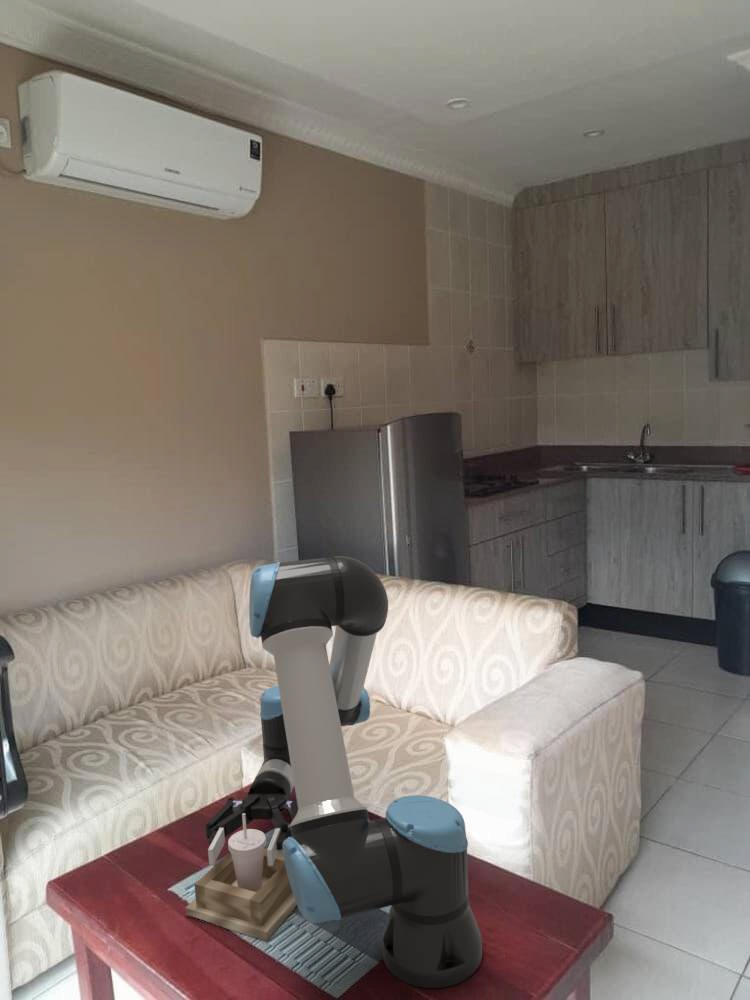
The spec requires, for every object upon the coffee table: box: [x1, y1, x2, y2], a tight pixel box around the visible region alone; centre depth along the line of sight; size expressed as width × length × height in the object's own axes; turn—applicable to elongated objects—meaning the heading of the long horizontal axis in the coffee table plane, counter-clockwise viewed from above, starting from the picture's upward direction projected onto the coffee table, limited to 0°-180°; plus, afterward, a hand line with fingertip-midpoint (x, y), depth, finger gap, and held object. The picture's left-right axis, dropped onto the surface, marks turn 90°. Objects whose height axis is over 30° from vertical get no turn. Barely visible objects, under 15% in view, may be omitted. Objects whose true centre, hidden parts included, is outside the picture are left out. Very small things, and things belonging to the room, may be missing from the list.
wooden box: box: [185, 847, 298, 942], centre depth 132 cm, size 16×15×6 cm
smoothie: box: [227, 813, 267, 892], centre depth 132 cm, size 6×6×14 cm
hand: (240, 857), depth 127 cm, fingers open, 9 cm apart
